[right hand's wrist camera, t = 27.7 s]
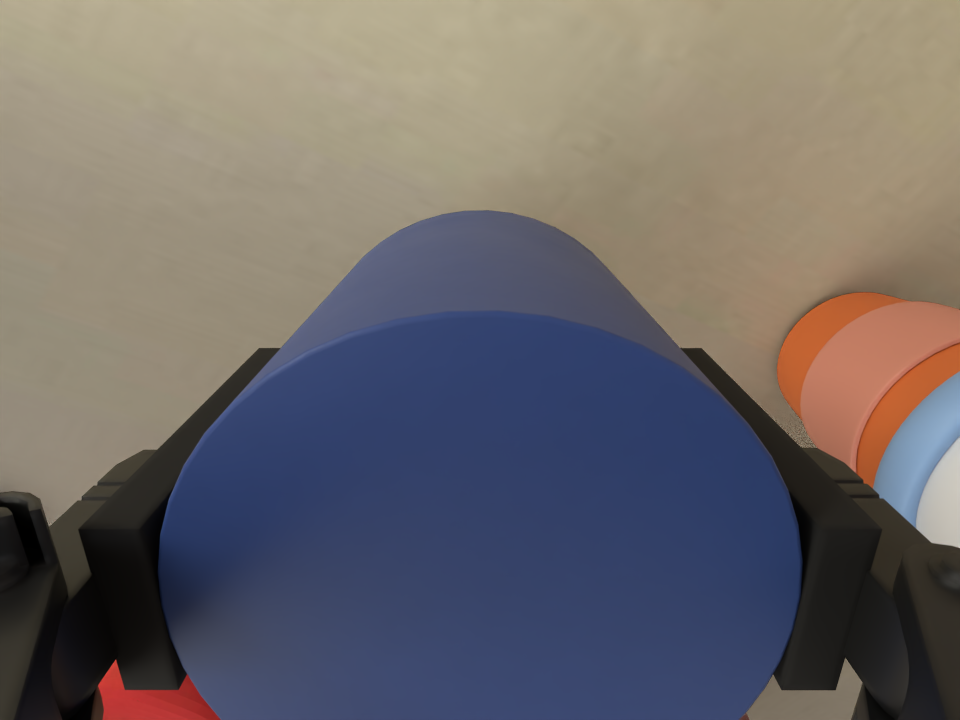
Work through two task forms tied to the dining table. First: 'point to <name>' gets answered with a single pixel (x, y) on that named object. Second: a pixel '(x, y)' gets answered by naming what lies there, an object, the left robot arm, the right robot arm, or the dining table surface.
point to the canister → (480, 505)
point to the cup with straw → (884, 399)
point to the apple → (151, 701)
